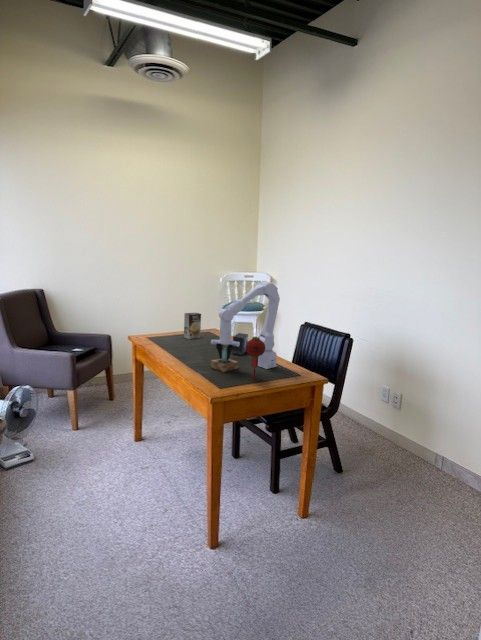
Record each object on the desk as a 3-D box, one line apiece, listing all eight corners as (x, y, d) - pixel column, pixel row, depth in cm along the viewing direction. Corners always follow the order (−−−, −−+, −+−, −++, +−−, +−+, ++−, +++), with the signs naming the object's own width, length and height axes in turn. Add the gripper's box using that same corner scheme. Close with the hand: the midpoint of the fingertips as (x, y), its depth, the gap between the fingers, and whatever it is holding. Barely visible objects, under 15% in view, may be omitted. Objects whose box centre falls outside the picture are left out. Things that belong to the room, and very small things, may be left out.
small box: (242, 355, 240) (243, 337, 238) (231, 354, 242) (232, 336, 240) (248, 351, 250) (248, 333, 248) (237, 349, 252) (238, 332, 250)
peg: (228, 362, 217) (229, 349, 215) (225, 363, 214) (226, 350, 212) (223, 361, 218) (223, 348, 217) (220, 362, 215) (220, 349, 214)
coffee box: (189, 339, 272) (189, 314, 269) (183, 337, 277) (183, 313, 274) (200, 337, 278) (201, 313, 275) (195, 335, 283) (195, 312, 280)
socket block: (238, 368, 216) (238, 361, 215) (223, 372, 209) (223, 365, 209) (225, 363, 223) (225, 357, 223) (210, 366, 217) (210, 360, 216)
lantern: (243, 375, 206) (245, 314, 200) (262, 375, 207) (265, 315, 201) (244, 381, 197) (247, 318, 191) (265, 381, 198) (268, 318, 192)
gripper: (241, 332, 215) (240, 358, 218) (213, 329, 218) (213, 355, 221) (238, 335, 208) (237, 361, 211) (209, 332, 211) (209, 358, 214)
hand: (224, 358), depth 215 cm, fingers closed on peg, 3 cm apart
